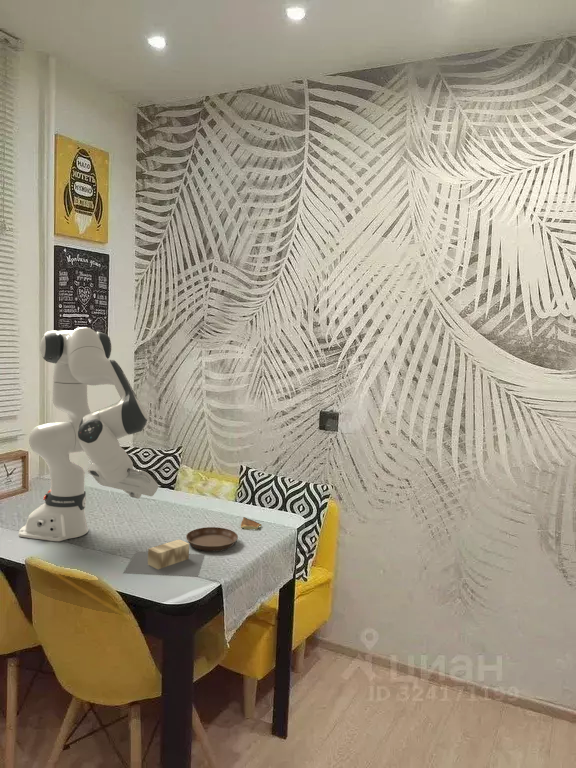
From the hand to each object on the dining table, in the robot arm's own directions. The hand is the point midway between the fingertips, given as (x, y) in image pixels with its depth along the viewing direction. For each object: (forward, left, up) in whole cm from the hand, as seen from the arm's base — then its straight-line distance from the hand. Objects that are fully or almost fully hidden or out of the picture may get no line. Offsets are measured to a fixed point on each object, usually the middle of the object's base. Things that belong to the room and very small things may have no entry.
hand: (136, 496), depth 177 cm
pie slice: (+31, +47, -24) cm, 61 cm away
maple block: (+5, +3, -20) cm, 21 cm away
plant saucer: (+20, +27, -24) cm, 42 cm away
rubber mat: (+8, +6, -24) cm, 26 cm away
